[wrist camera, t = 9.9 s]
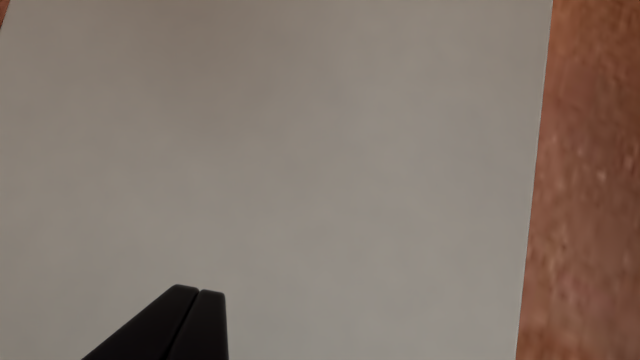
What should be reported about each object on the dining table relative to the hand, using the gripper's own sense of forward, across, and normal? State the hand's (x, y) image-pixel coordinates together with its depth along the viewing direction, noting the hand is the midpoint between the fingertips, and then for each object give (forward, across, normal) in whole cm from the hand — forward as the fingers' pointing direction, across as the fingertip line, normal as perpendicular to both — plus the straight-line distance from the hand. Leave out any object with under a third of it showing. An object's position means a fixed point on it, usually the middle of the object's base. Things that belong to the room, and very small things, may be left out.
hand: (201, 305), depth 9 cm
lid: (+3, 0, +1) cm, 3 cm away
